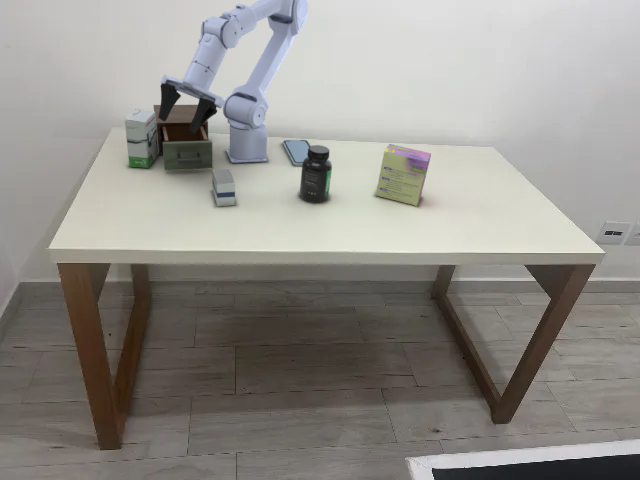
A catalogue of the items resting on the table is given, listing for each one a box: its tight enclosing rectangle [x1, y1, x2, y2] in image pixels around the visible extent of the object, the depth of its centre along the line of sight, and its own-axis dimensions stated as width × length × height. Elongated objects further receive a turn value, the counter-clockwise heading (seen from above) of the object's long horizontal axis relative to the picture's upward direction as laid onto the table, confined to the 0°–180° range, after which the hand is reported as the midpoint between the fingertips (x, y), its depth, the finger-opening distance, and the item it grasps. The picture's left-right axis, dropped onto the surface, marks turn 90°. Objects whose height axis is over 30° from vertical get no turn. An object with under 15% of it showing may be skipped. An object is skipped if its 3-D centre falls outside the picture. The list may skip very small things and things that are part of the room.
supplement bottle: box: [299, 144, 333, 204], centre depth 114 cm, size 7×7×12 cm
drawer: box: [162, 125, 214, 171], centre depth 122 cm, size 17×11×7 cm
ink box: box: [124, 108, 159, 169], centre depth 121 cm, size 9×5×12 cm, turn 179°
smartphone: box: [282, 139, 311, 167], centre depth 137 cm, size 7×1×15 cm
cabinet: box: [153, 104, 209, 156], centre depth 133 cm, size 14×13×9 cm
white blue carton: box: [211, 168, 236, 207], centre depth 111 cm, size 4×7×6 cm, turn 19°
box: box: [375, 143, 432, 207], centre depth 119 cm, size 10×6×12 cm, turn 71°
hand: (176, 125), depth 107 cm, fingers open, 7 cm apart
